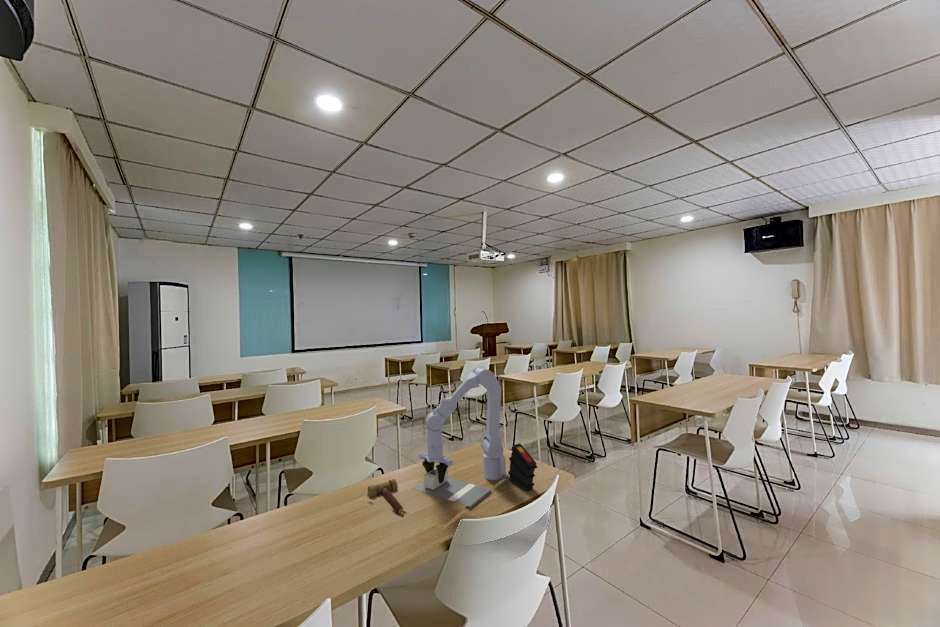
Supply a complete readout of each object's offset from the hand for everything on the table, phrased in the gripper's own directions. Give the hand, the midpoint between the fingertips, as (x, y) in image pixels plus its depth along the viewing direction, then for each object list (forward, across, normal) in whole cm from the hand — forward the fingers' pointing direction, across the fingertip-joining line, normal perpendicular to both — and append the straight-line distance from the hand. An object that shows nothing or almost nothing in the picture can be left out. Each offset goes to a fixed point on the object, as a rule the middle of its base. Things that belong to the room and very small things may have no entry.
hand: (436, 480), depth 146 cm
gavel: (+3, -6, -17) cm, 19 cm away
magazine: (+3, +28, +17) cm, 33 cm away
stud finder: (+1, 0, 0) cm, 1 cm away
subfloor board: (+2, +7, 0) cm, 7 cm away
